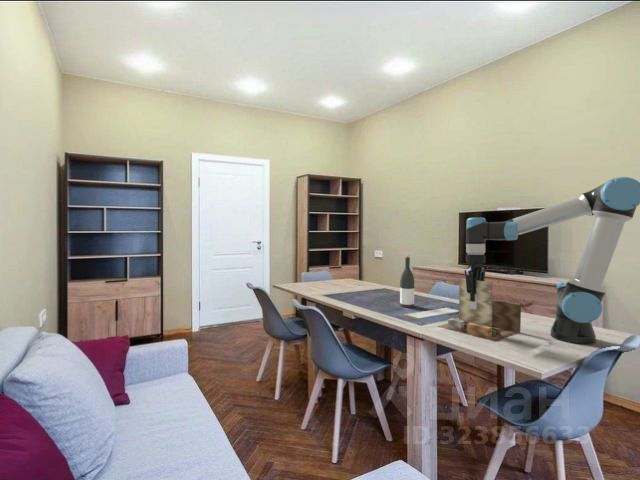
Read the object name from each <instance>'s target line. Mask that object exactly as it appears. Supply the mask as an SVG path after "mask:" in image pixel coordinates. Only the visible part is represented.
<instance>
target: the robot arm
mask: <svg viewBox="0 0 640 480" xmlns="http://www.w3.org/2000/svg"><path fill="white" fill-rule="evenodd" d="M639 205H640V181H639V180H637V179H635V178H632V177H629V176H621V177H620V176H619V177H613V178H611V179H609V180H607V181H606V182H604V183H602V184H601V185H598V186H596V187H595V188H593V189H591V190H588V191H585V192H583V193H581V194H579V196H578V197H575V198H573V199H570V200H567V201H563V202H560V203H557V204H554V205H551V206H547V207H545V208H542V209H539V210H535V211H533V212H529V213H527V214H524V215H521V216H517V217H514V218H511V219H508V220H505V221H494V222H493V221H491V222H489V221H487V219H486V218H485V217H469V218H467V219H466V225H465V227H466V228H465V237H466V238H465V240H466V241H465V247H466V249H465V251H466V252H465V253H466V254H465V262H466V263H467V264H468V266H467V269H465V270H464V271H463V272H464V275H465V279H466V287H467V292H468V293H470V309H476V310H477V294H476V284H477V281H485V277H486V272H487V269H486V268H483V264H486V255H485V253H486V241H516V240H518V238H519V235H523V234H526V233H530V232H534V231H537V230H540V229H543V228H547V227H550V226H553V225H556V224H560V223H563V222H566V221H570V220H573V219H577V218H579V217H584V216H588V217H593V216H594V219H593V223H592V225H591V228H590V231H589V234H588V237H587V240H586V242H585V245H584V248H583V251H582V254H581V257H580V259H579V263H578V266H577V269H576V271H575V274H574V277H573V278H572V279H571V278H570V279H569V280H567V282H563V281H562V282H558V283H556V289H555V290H556V297H555V298H556V300H555V302H556V303H555V307H556V308H555V319H554V321H553V324H552V326H551V329H550V336H551V337H552V338H554V339H557V340H559V341H562V342H569V343H573V344H582V345H583V344H584V345H590V344H596V342H597V336H596V333H595V330H594V327H593V325H592V323H593V322H594V321H596V320H597V319H599V318H600V317H601V315H602V313H603V304H602V302H603V299H604V296H605V294H606V290H605V288H604V287H603V283H604V281H605V278H606V276H607V273H608V270H609V267H610V264H611V262H612V259H613V256H614V253H615V251H616V248H617V246H618V242H619V239H620V237H621V234H622V232H623V229H624V226H625V223H626V222H629V221H631V220H633V217H634V215H635V213H636V209H637V207H639Z"/></svg>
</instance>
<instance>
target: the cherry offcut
mask: <svg viewBox="0 0 640 480" xmlns="http://www.w3.org/2000/svg"><path fill="white" fill-rule="evenodd" d="M467 333H468V334H472V335H476V336H480V337H483V338H487V339H489V338H492V327H488V326H483V325H479V324H475V323H468V324H467Z"/></svg>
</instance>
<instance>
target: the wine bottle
mask: <svg viewBox="0 0 640 480" xmlns="http://www.w3.org/2000/svg"><path fill="white" fill-rule="evenodd" d="M404 258H405V259H404V260H405V265H404V267H405V268H404V270H403V271H402V273H401V275H400V278H399V306H400V307H403V308H413V307H415V276H414V273H413V272H412V270H411V267H410V266H411V264H410V262H411V257H410V254H405V257H404Z"/></svg>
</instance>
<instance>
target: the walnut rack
mask: <svg viewBox="0 0 640 480" xmlns="http://www.w3.org/2000/svg"><path fill="white" fill-rule="evenodd" d="M521 312H522V304H521V303H518V302H517V303H515V302H510V301H503V300H498V299H493V298H492V326H488V327H492V338H489V339H487V338H483V337H480V336H476V335H472V334H468V333H467V324H468V323H474V322H469V321H465V320H462V321H464V331H457V330H453V329H449V328H448V323H445V324H442V325H437V328H442V329H445V330H449V331H453V332H456V333H460V334H464V335H467V336H472V337H476V338H479V339H482V340H486V341H491V342H494V343H496V342H499V341H501V340H504V339H507V338H510V337H513V336H515V335H518V334H520V333H521V326H522V325H521V317H522V316H521V315H522V313H521ZM457 319H458V320H460V319H459V318H457ZM475 324H478V323H475ZM479 325H483V324H479ZM483 326H487V325H483Z"/></svg>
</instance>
